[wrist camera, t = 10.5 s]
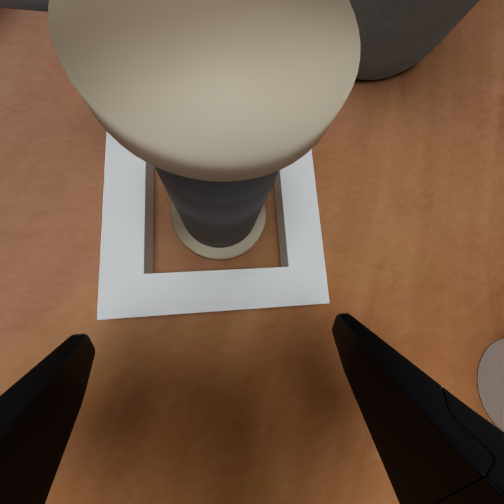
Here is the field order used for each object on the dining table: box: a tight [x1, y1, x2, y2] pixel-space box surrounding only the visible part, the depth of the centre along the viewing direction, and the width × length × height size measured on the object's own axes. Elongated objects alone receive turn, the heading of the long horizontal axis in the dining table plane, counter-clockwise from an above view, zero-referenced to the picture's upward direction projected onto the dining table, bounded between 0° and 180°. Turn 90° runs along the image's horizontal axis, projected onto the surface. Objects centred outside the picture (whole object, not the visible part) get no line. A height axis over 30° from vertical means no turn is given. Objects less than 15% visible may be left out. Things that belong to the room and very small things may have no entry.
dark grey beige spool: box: [48, 0, 361, 260], centre depth 12 cm, size 7×7×13 cm
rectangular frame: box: [0, 0, 330, 320], centre depth 12 cm, size 14×16×11 cm
